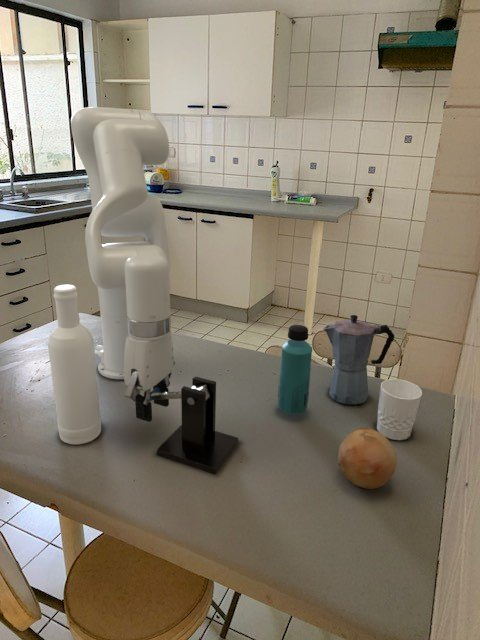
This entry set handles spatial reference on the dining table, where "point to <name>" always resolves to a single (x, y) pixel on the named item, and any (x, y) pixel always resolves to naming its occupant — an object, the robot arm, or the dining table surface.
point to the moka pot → (353, 357)
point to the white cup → (397, 408)
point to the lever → (174, 393)
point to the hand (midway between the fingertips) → (152, 411)
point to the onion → (367, 458)
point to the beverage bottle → (295, 371)
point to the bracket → (198, 431)
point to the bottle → (73, 372)
